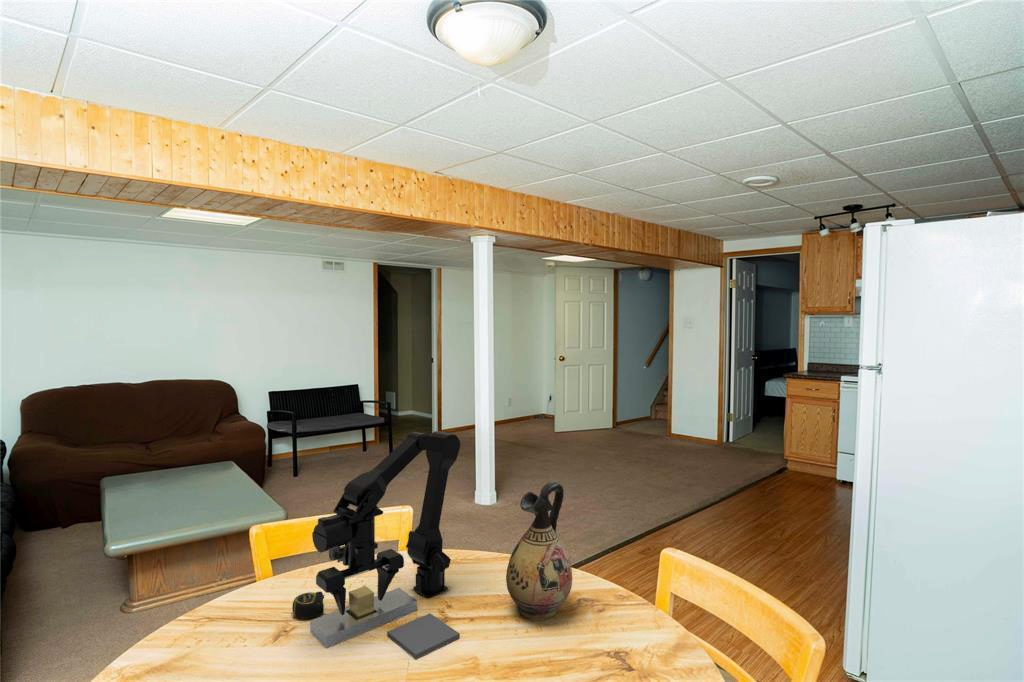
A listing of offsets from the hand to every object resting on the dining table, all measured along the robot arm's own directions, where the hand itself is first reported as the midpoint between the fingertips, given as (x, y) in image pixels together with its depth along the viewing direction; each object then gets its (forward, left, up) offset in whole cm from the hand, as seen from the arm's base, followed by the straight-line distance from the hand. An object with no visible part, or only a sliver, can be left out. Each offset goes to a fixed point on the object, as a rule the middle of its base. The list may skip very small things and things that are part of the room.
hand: (361, 607), depth 123 cm
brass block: (0, 0, -4) cm, 4 cm away
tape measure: (+6, -12, -4) cm, 14 cm away
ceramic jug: (-34, +23, -4) cm, 41 cm away
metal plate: (-1, 0, -4) cm, 4 cm away
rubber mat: (-7, +14, -4) cm, 16 cm away
